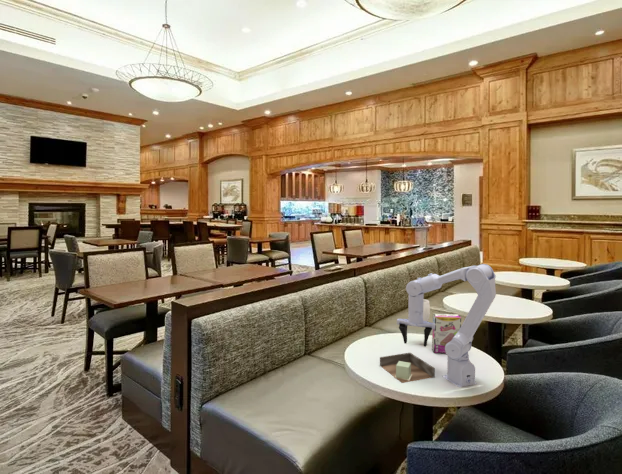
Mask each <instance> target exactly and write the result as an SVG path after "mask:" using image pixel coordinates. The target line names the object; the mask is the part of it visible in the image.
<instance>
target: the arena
mask: <svg viewBox="0 0 622 474" xmlns="http://www.w3.org/2000/svg"><path fill="white" fill-rule="evenodd" d="M399 361H403V362H408V363H411V375H410V377H409V379H403V378H398V377H396V365H397V363H398V362H399ZM379 366H380V367H381V368H382V369H384V371H386V372H387V373H388V374H390V376H392V377H393V378H394V379H396V380H398V381H399V382H400V383H401V384H405V383H410V382H417V381H422V380H427V379H432V378H435V376H436V372H435V371H436V368H435V367H434V366H432V365H430V364H429V363H427V362H426V361H424V360H422V359H421V358H419V356H417V355H415V354H413V353H412V352H405V353H397V354H391V355H386V356H380V357H379Z"/></svg>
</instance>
